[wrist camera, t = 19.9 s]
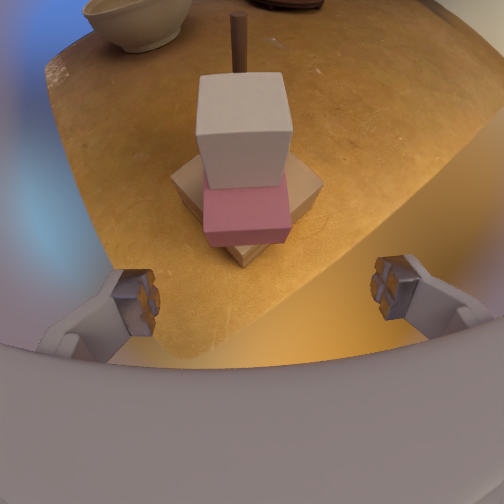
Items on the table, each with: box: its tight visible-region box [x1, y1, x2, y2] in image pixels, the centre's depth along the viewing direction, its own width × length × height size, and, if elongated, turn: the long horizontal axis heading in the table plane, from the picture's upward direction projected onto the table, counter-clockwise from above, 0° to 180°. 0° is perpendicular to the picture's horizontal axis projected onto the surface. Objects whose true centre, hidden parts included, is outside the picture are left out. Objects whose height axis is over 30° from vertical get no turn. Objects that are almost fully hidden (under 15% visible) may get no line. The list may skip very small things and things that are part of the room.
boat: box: [195, 11, 293, 247], centre depth 14 cm, size 12×5×11 cm, turn 4°
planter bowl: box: [82, 0, 193, 53], centre depth 25 cm, size 16×16×11 cm
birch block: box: [170, 151, 324, 269], centre depth 21 cm, size 8×8×5 cm
